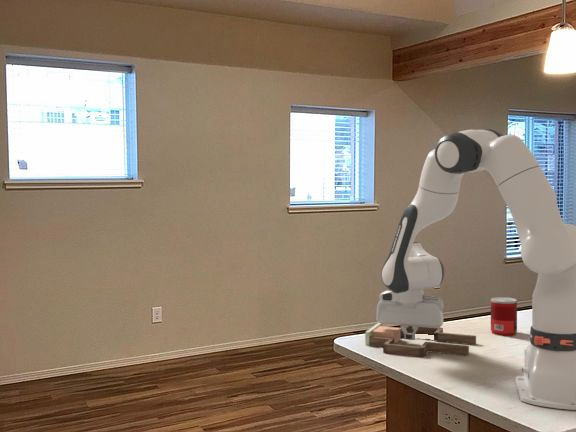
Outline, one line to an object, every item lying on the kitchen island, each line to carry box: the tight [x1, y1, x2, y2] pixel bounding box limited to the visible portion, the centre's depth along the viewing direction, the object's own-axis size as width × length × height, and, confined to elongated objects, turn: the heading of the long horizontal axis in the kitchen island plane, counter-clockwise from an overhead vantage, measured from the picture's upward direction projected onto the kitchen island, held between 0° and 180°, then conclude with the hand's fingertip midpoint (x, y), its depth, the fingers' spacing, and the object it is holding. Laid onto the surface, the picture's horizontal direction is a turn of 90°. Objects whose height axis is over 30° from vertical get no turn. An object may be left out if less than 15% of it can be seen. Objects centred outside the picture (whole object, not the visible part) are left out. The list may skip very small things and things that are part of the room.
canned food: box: [490, 296, 518, 337], centre depth 201 cm, size 8×8×11 cm
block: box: [372, 325, 401, 344], centre depth 194 cm, size 7×7×4 cm
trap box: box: [364, 322, 477, 358], centre depth 190 cm, size 25×31×4 cm
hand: (409, 339), depth 191 cm, fingers closed
